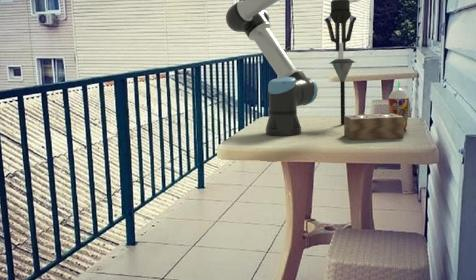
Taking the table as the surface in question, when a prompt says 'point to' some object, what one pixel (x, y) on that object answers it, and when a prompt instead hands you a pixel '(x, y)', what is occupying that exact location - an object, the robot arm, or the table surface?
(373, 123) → the block
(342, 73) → the solar garden light
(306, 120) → the table surface
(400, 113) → the smoothie
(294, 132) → the robot arm
